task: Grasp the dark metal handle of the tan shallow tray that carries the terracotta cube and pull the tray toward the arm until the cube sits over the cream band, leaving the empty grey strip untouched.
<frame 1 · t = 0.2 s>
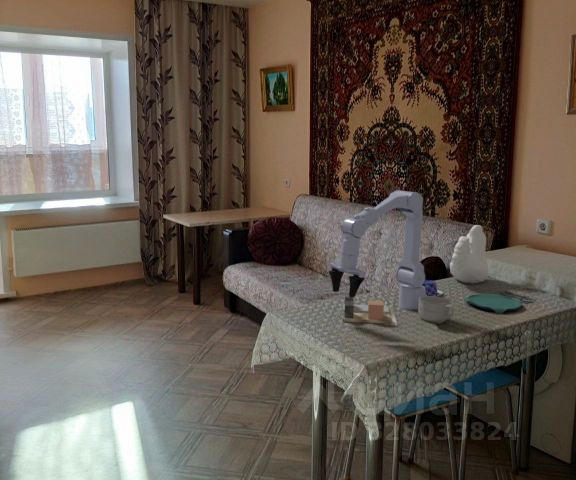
hand: (343, 294, 194), 10 cm above the table, tool pointing down, fingers open, 7 cm apart
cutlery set: (501, 304, 222), on the table
grey strip: (365, 303, 208), point 4 cm above the table, slide at 0.0 cm
lane board: (368, 317, 203), on the table
tan shallow tray: (366, 311, 198), point 4 cm above the table, slide at 0.0 cm, touching terracotta cube
terracotta cube: (375, 316, 198), point 2 cm above the table, touching tan shallow tray
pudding: (427, 294, 235), on the table
decorative rooster: (463, 282, 253), on the table
teacup: (436, 323, 199), on the table
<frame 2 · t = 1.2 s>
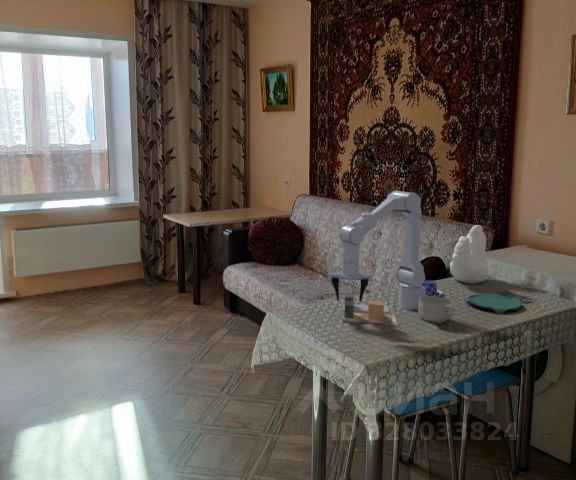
hand: (349, 300, 198), 8 cm above the table, tool pointing down, fingers open, 7 cm apart
nothing on the table moved.
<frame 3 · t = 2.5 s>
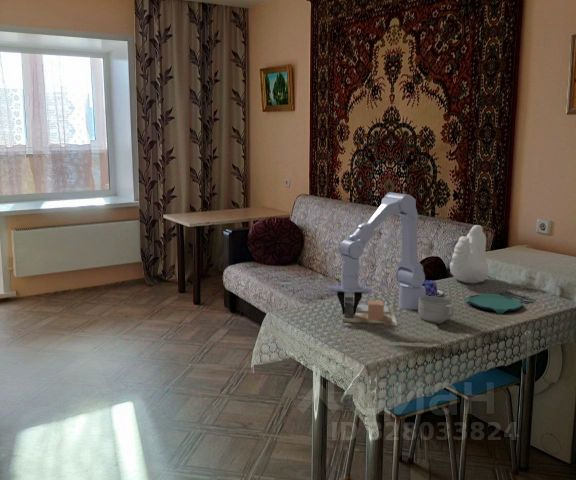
hand: (348, 313, 198), 3 cm above the table, tool pointing down, fingers closed on tan shallow tray, 3 cm apart
tan shallow tray: (366, 311, 198), point 4 cm above the table, slide at 0.0 cm, touching gripper, terracotta cube
everything else where it was.
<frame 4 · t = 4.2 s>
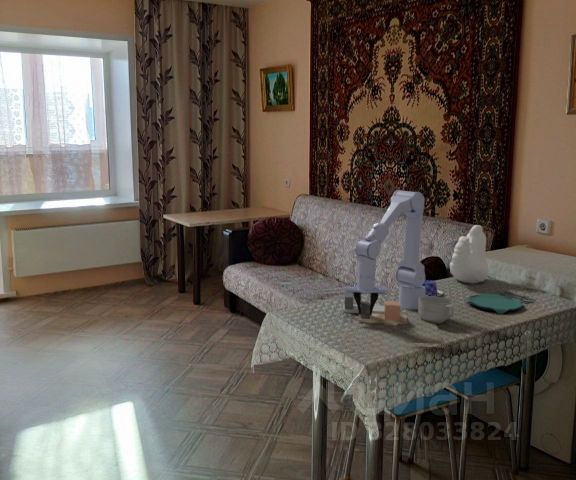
hand: (365, 314, 198), 3 cm above the table, tool pointing down, fingers closed on tan shallow tray, 3 cm apart
tan shallow tray: (382, 312, 197), point 4 cm above the table, slide at 5.5 cm, touching gripper, terracotta cube
terracotta cube: (391, 317, 197), point 2 cm above the table, touching tan shallow tray
everything else where it was.
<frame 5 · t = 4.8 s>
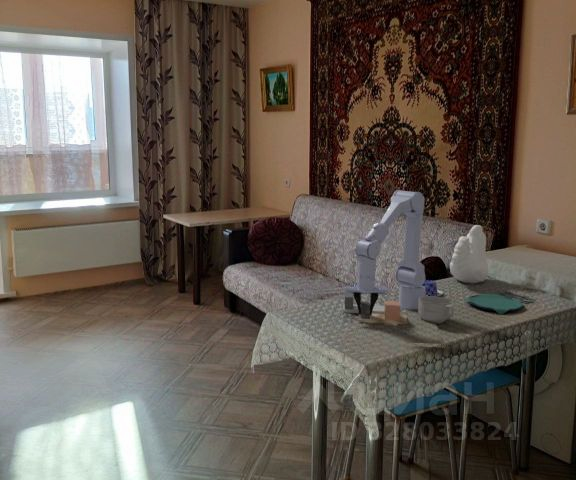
hand: (365, 314, 198), 3 cm above the table, tool pointing down, fingers closed on tan shallow tray, 3 cm apart
tan shallow tray: (382, 312, 197), point 4 cm above the table, slide at 5.5 cm, touching gripper, terracotta cube
everything else where it was.
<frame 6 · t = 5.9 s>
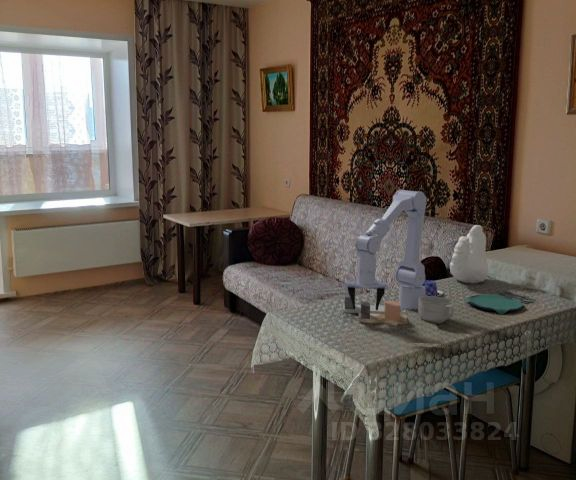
hand: (365, 309, 198), 5 cm above the table, tool pointing down, fingers open, 7 cm apart
tan shallow tray: (382, 312, 197), point 4 cm above the table, slide at 5.5 cm, touching terracotta cube
everything else where it was.
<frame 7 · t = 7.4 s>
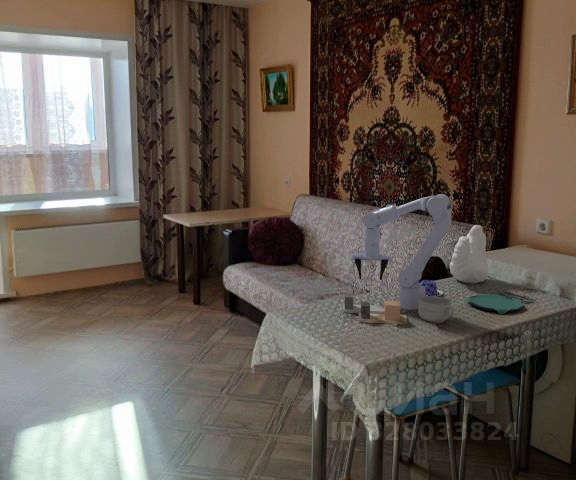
hand: (370, 279, 219), 9 cm above the table, tool pointing down, fingers open, 7 cm apart
nothing on the table moved.
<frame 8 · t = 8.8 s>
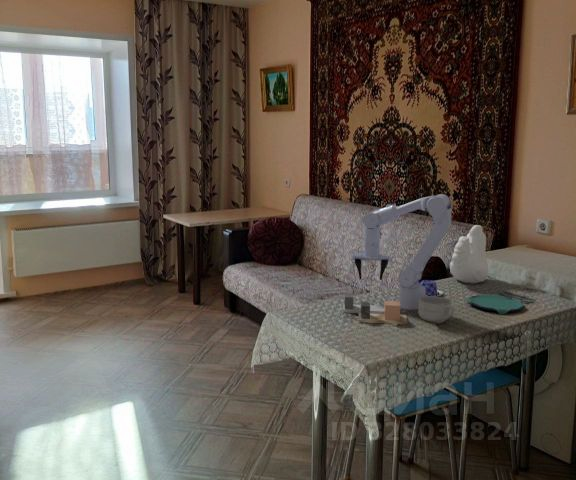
hand: (370, 279, 219), 9 cm above the table, tool pointing down, fingers open, 7 cm apart
nothing on the table moved.
at the end: terracotta cube 0.5 cm from the target spot, point 2.0 cm above the table; terracotta cube tilted 0°; grey strip slide at 0.0 cm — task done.
